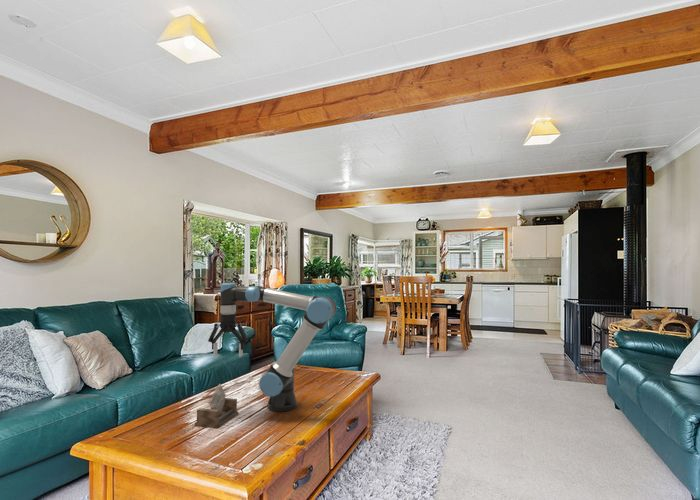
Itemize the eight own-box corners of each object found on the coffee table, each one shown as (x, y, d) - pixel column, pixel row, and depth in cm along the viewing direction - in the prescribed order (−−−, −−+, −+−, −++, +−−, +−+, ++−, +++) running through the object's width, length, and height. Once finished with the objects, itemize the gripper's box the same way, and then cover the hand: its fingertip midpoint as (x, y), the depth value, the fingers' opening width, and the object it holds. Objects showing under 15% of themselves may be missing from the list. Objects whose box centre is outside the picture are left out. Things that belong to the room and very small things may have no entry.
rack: (238, 414, 188) (238, 399, 189) (218, 428, 171) (218, 411, 171) (216, 412, 191) (217, 397, 191) (194, 425, 173) (195, 409, 174)
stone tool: (214, 421, 175) (214, 388, 176) (207, 421, 176) (208, 388, 177) (228, 413, 185) (228, 382, 186) (221, 412, 186) (222, 381, 188)
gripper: (254, 312, 195) (254, 354, 193) (209, 313, 198) (208, 354, 197) (248, 314, 187) (248, 358, 186) (201, 314, 191) (200, 357, 190)
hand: (228, 356), depth 191 cm, fingers open, 13 cm apart
